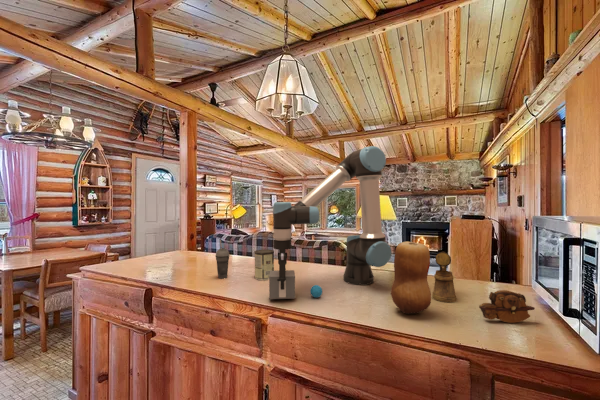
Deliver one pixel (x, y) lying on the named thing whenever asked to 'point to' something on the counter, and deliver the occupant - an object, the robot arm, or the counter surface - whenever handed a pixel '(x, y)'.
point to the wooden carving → (506, 307)
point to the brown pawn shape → (444, 280)
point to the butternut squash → (411, 277)
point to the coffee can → (263, 264)
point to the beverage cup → (222, 262)
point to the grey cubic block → (275, 285)
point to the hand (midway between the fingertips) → (282, 292)
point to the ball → (316, 291)
